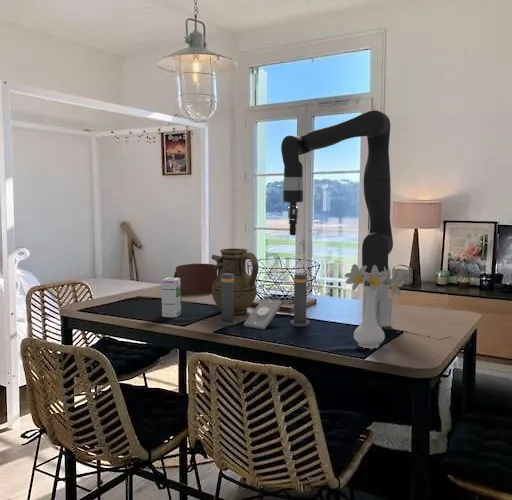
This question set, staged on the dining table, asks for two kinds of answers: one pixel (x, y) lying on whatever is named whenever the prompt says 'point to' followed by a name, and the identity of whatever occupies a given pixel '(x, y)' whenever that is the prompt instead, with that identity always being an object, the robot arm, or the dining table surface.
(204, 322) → the dining table surface
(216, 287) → the decorative pitcher
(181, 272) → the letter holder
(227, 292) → the post
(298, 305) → the post
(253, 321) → the light switch
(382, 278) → the flower vase
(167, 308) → the syrup box
